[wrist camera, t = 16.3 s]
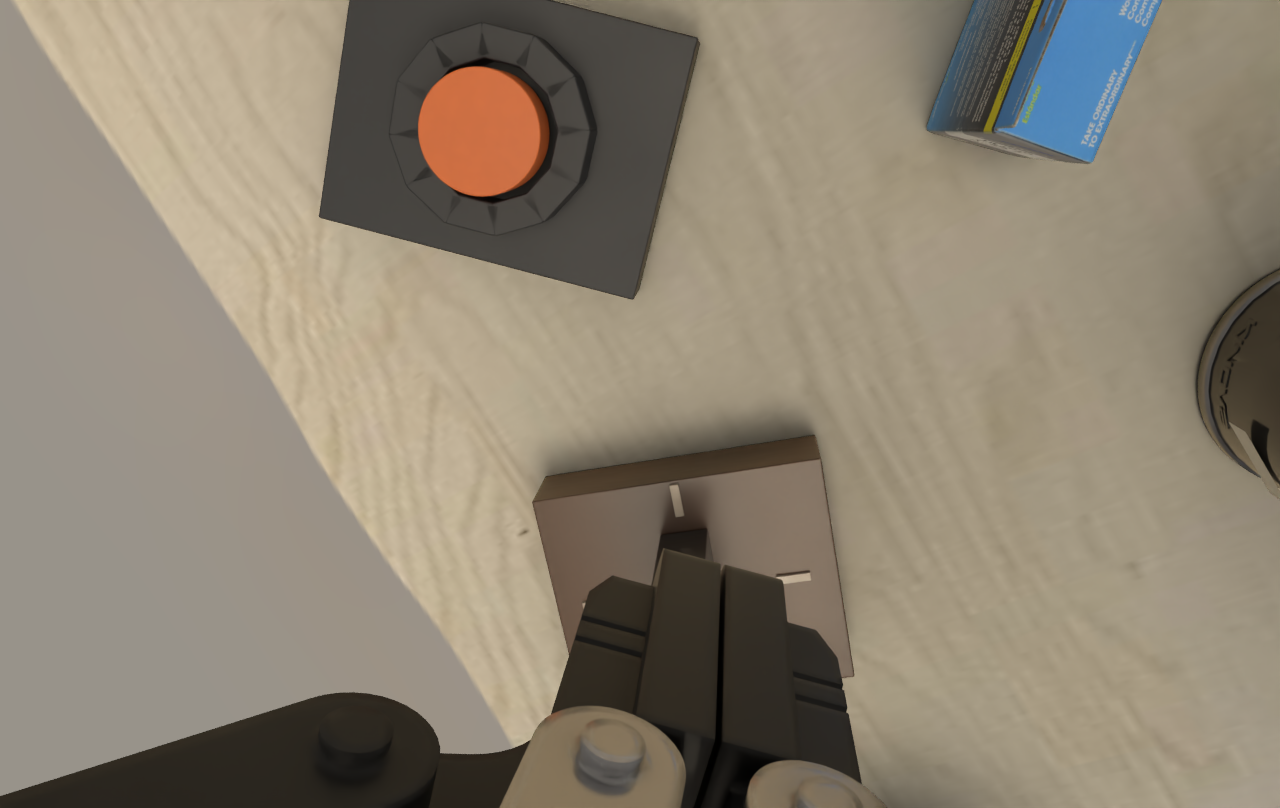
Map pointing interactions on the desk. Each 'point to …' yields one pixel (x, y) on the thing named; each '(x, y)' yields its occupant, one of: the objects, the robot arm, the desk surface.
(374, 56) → the button housing
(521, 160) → the button
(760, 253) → the desk surface
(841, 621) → the dial panel
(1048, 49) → the ink cartridge box
